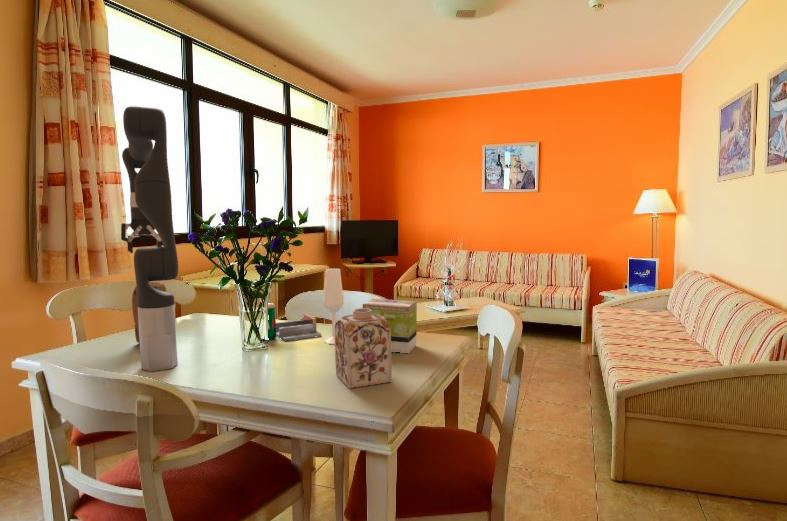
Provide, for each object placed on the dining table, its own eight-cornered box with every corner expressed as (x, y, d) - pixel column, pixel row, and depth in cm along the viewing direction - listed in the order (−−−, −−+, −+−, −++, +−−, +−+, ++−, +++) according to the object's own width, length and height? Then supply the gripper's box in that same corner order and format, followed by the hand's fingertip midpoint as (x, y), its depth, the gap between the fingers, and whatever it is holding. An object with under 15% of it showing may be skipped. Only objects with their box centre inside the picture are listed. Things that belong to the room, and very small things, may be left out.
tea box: (361, 350, 153) (361, 303, 152) (372, 342, 163) (372, 297, 161) (409, 354, 149) (408, 305, 147) (417, 345, 158) (417, 300, 157)
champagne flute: (347, 343, 162) (346, 269, 159) (327, 345, 159) (325, 271, 157) (340, 338, 168) (339, 267, 165) (321, 340, 165) (319, 268, 163)
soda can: (257, 339, 167) (256, 304, 166) (269, 336, 171) (267, 302, 170) (268, 341, 164) (266, 306, 163) (279, 338, 168) (278, 303, 167)
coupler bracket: (321, 336, 171) (320, 320, 170) (284, 341, 164) (283, 325, 164) (303, 326, 186) (302, 311, 186) (268, 330, 180) (268, 315, 179)
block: (172, 343, 163) (169, 283, 161) (151, 349, 157) (147, 286, 155) (152, 339, 169) (149, 280, 167) (131, 344, 162) (127, 283, 160)
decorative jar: (376, 369, 135) (376, 304, 133) (393, 382, 125) (392, 312, 123) (334, 375, 131) (332, 307, 129) (347, 389, 120) (345, 316, 118)
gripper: (120, 206, 166) (123, 254, 168) (166, 205, 174) (168, 252, 175) (118, 206, 172) (121, 253, 174) (163, 206, 180) (165, 250, 182)
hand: (145, 252), depth 175 cm, fingers open, 8 cm apart
